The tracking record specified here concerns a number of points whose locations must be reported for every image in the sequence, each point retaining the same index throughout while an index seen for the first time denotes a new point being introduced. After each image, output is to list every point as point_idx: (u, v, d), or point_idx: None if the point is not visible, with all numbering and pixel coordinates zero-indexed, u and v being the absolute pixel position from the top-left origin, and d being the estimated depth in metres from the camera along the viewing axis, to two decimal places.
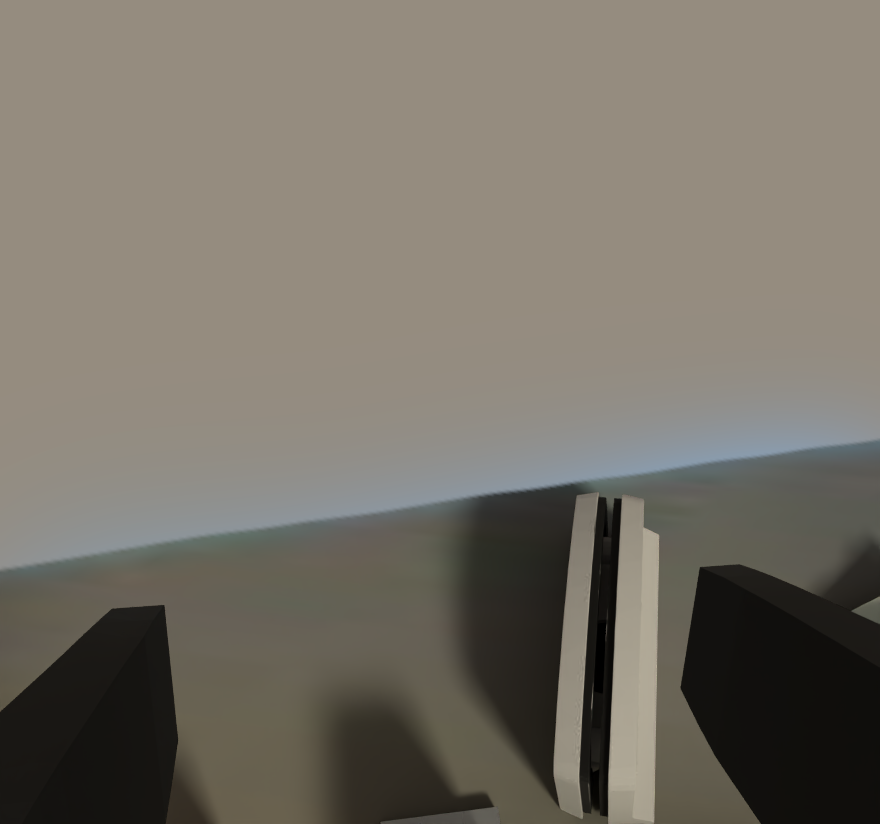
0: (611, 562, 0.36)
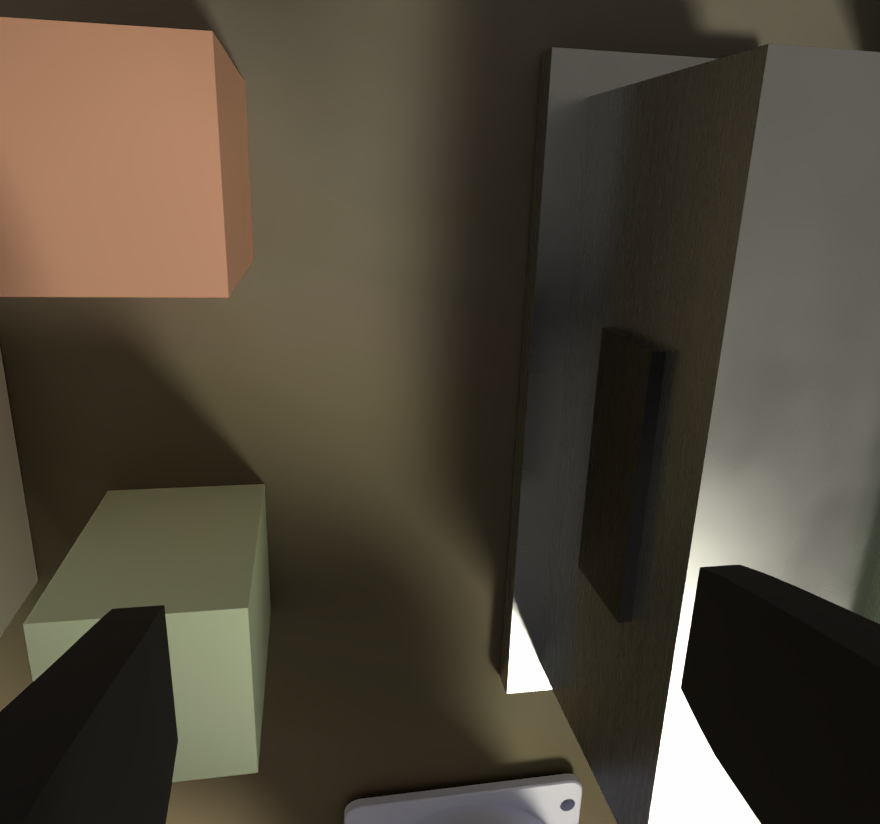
0: None
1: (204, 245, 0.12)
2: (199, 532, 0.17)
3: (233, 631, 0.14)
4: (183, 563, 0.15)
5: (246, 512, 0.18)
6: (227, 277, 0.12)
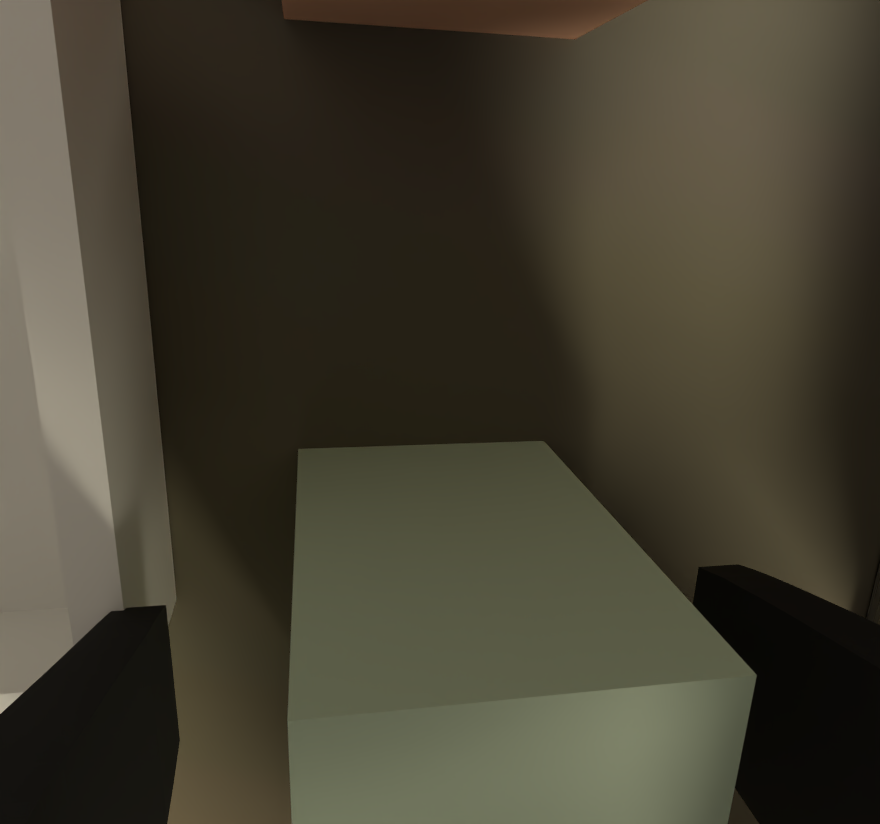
0: None
1: None
2: (508, 516, 0.09)
3: (716, 726, 0.06)
4: (528, 574, 0.08)
5: (558, 483, 0.10)
6: None
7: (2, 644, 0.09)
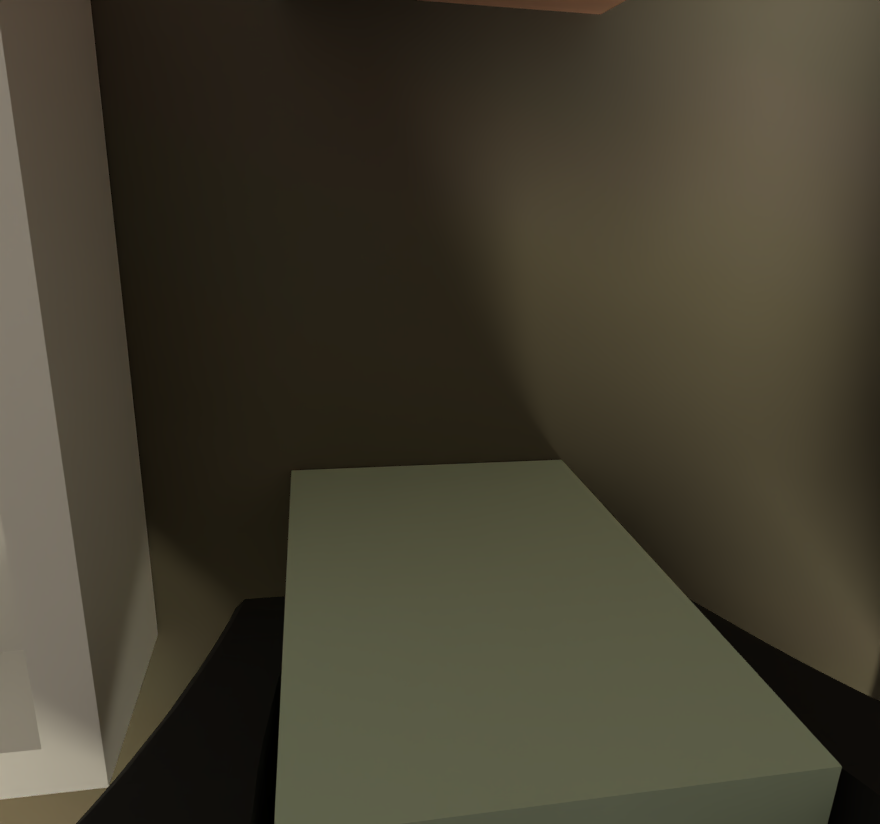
0: None
1: None
2: (528, 552, 0.08)
3: None
4: (557, 627, 0.07)
5: (582, 511, 0.09)
6: None
7: None
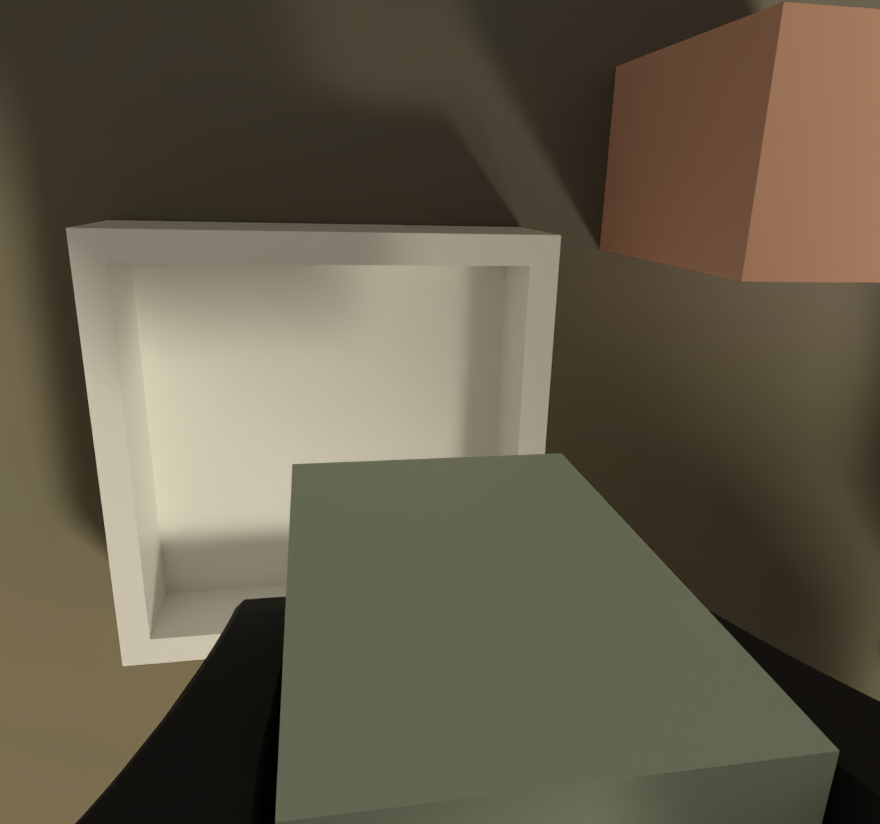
0: None
1: None
2: (529, 544, 0.08)
3: (790, 810, 0.05)
4: (558, 618, 0.07)
5: (582, 503, 0.09)
6: None
7: None
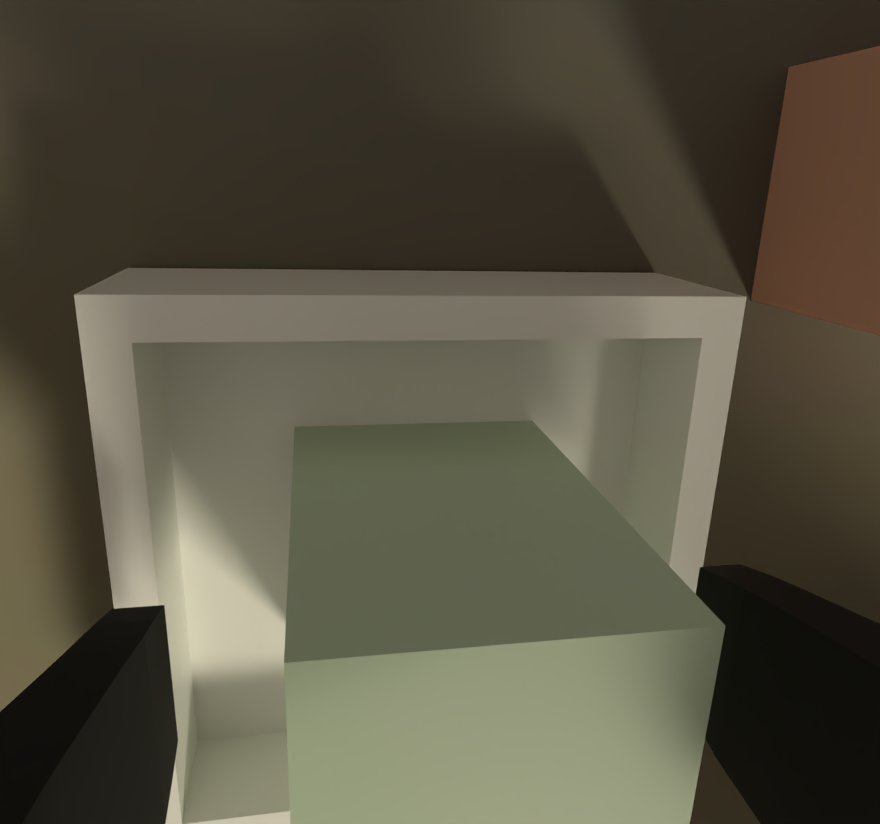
0: None
1: None
2: (495, 487, 0.09)
3: (688, 674, 0.07)
4: (513, 538, 0.08)
5: (545, 458, 0.10)
6: None
7: None
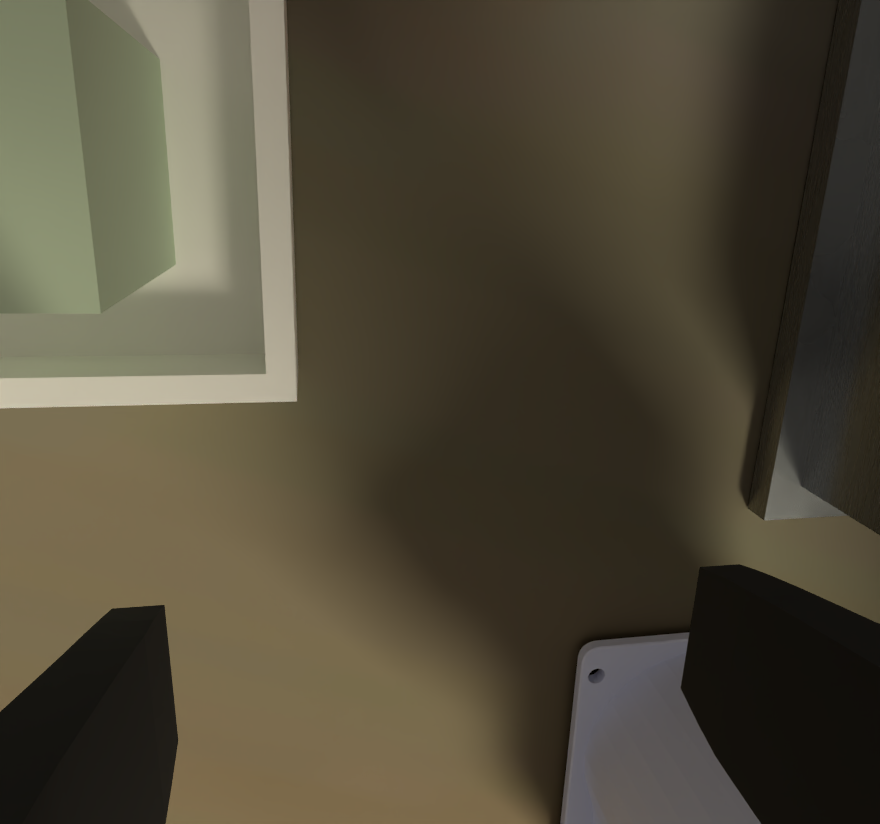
0: None
1: None
2: None
3: (41, 25, 0.09)
4: None
5: None
6: None
7: (209, 363, 0.15)
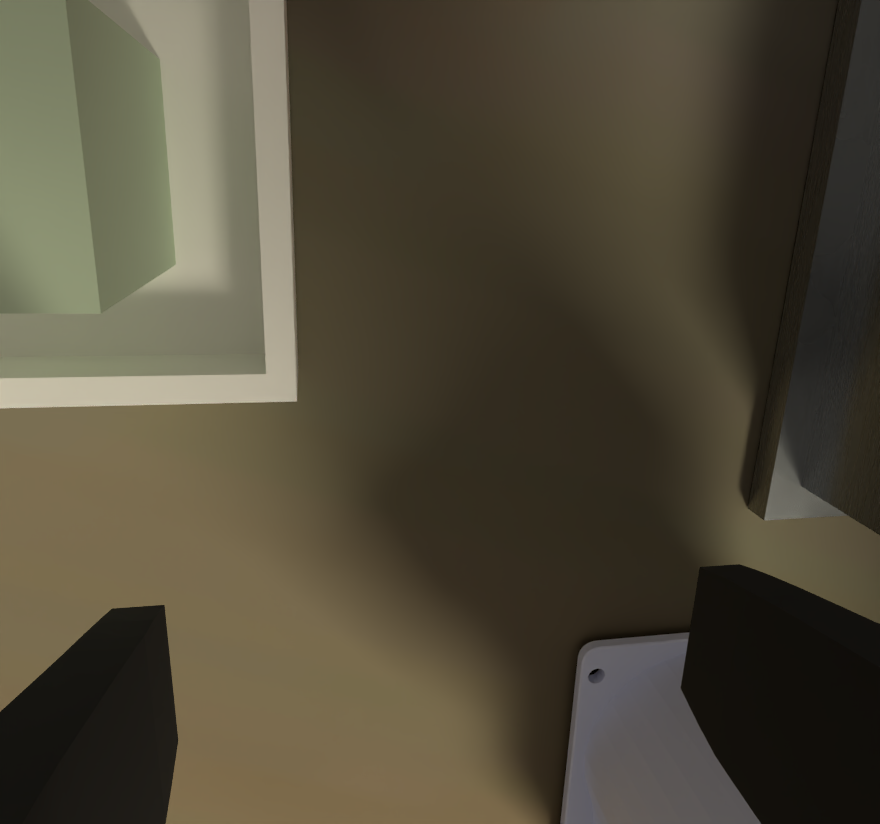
0: None
1: None
2: None
3: (41, 25, 0.09)
4: None
5: None
6: None
7: (209, 363, 0.15)
